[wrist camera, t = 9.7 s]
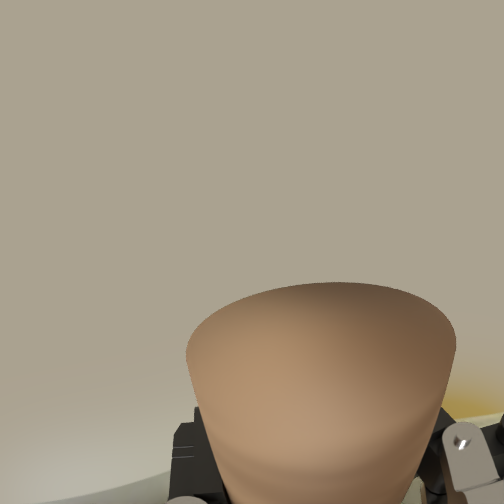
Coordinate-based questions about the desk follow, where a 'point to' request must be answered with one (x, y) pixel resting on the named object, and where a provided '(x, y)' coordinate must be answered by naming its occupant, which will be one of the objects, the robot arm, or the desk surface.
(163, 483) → the desk surface
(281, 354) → the spiral cardboard tube
